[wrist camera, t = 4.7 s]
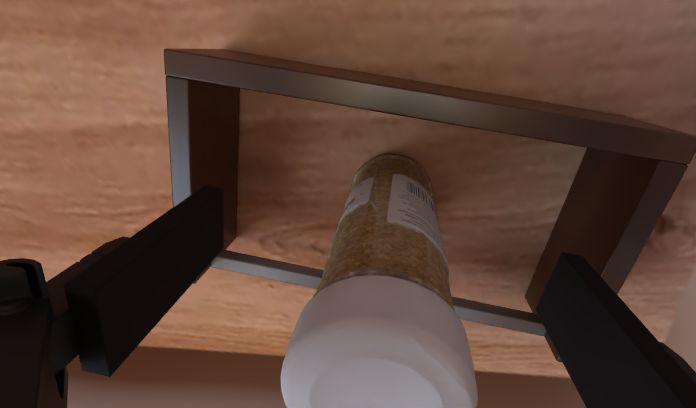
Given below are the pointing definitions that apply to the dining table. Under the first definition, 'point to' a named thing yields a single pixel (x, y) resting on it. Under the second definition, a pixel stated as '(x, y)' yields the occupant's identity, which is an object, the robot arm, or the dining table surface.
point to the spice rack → (446, 107)
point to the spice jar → (382, 306)
